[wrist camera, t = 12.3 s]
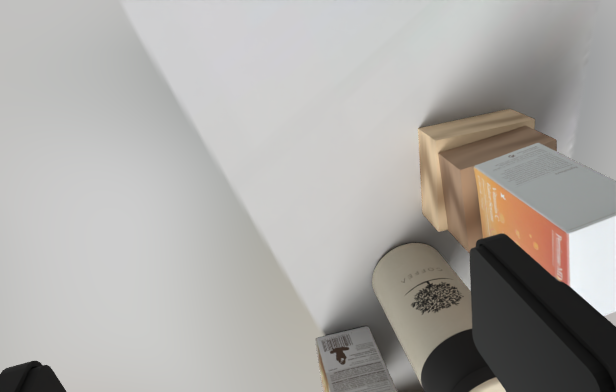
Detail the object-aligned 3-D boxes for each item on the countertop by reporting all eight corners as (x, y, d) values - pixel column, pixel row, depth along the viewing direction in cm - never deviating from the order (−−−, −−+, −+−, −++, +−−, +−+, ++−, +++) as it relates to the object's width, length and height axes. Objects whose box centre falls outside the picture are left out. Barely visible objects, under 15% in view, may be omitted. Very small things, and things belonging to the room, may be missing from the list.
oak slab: (417, 127, 42) (435, 140, 38) (508, 108, 42) (535, 119, 39) (421, 212, 46) (438, 231, 42) (505, 193, 46) (529, 210, 43)
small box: (471, 163, 35) (567, 230, 25) (538, 140, 35) (658, 197, 26) (481, 247, 38) (569, 332, 29) (542, 224, 39) (648, 302, 29)
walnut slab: (438, 153, 38) (460, 170, 35) (525, 125, 39) (556, 139, 35) (448, 230, 42) (469, 253, 38) (528, 204, 42) (556, 225, 39)
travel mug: (438, 299, 50) (541, 446, 34) (369, 308, 49) (442, 465, 33) (446, 237, 47) (564, 367, 31) (372, 245, 46) (455, 385, 30)
